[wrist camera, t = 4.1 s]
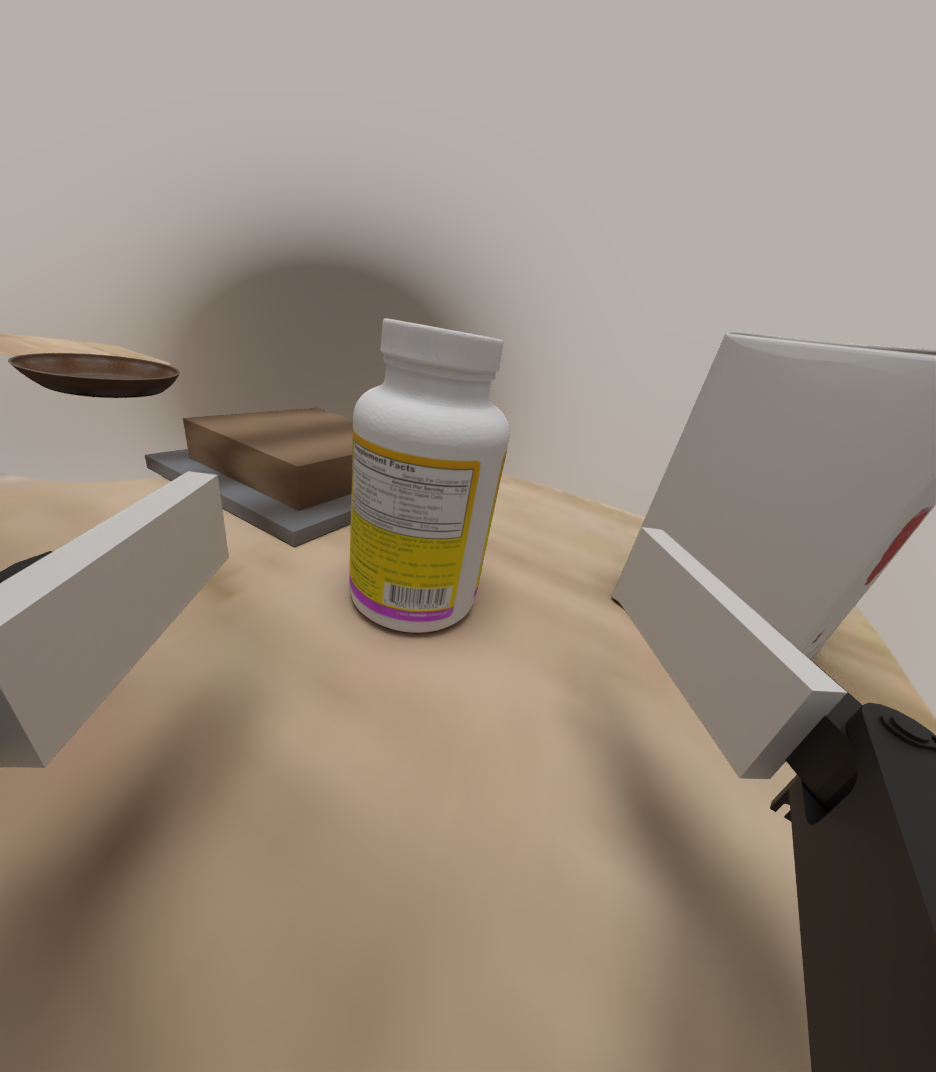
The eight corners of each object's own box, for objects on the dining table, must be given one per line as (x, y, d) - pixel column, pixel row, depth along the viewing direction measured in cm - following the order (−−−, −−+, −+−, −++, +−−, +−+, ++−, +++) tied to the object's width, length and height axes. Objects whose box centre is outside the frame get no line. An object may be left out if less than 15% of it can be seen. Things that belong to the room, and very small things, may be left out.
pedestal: (147, 467, 29) (135, 413, 27) (318, 440, 42) (318, 402, 40) (294, 546, 23) (291, 484, 21) (441, 486, 36) (447, 444, 34)
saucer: (125, 409, 41) (119, 382, 40) (-28, 384, 40) (-39, 356, 38) (207, 391, 54) (204, 370, 53) (94, 372, 53) (88, 350, 51)
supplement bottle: (416, 551, 25) (443, 328, 19) (497, 602, 22) (561, 350, 16) (321, 588, 20) (319, 304, 14) (406, 662, 17) (450, 329, 11)
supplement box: (762, 712, 18) (1039, 355, 11) (606, 598, 24) (718, 326, 17) (824, 652, 23) (1039, 383, 16) (682, 571, 29) (792, 353, 22)
